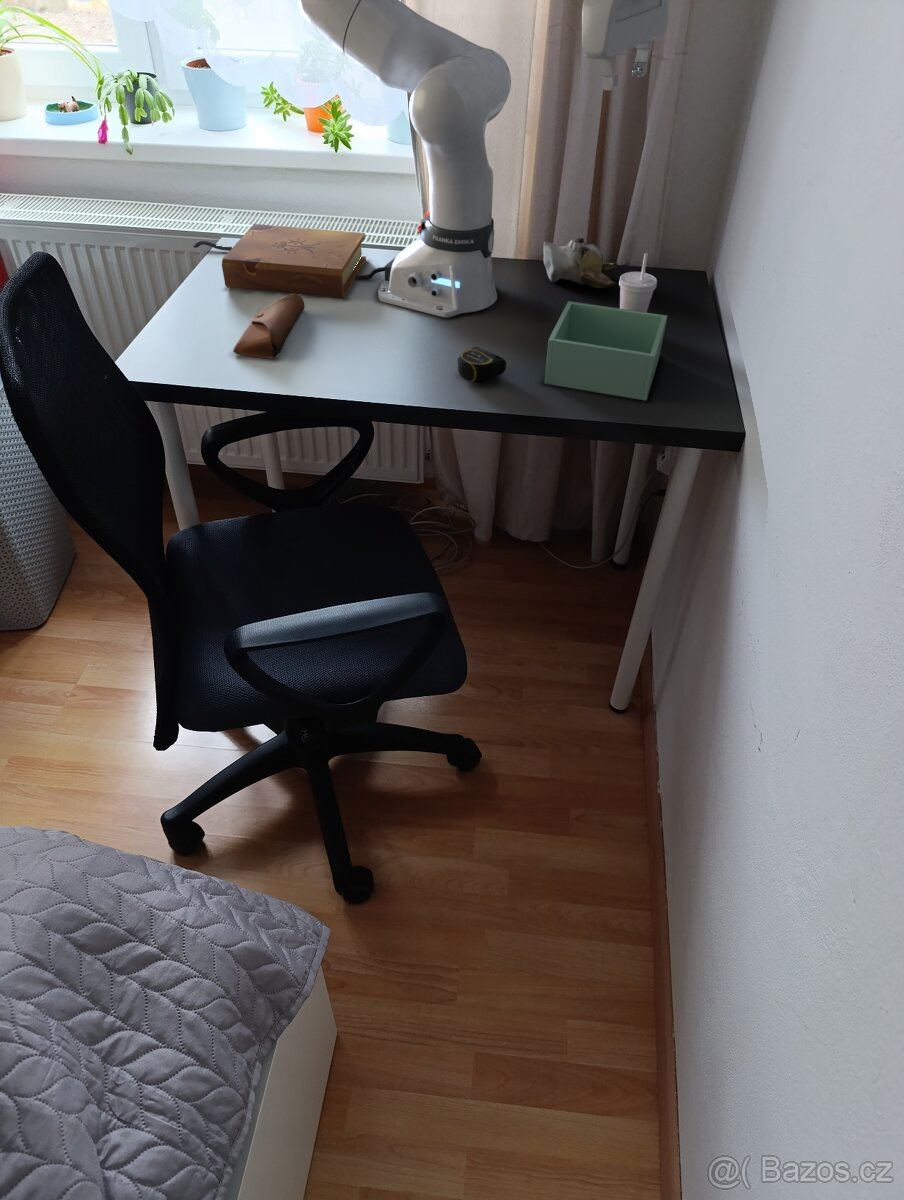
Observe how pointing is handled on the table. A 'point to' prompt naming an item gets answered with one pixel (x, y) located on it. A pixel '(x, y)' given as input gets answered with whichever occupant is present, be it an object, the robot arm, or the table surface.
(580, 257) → the ceramic sculpture
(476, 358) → the tape measure
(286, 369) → the table surface
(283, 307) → the sunglasses case
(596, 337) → the green open storage box
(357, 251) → the diary
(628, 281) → the smoothie
